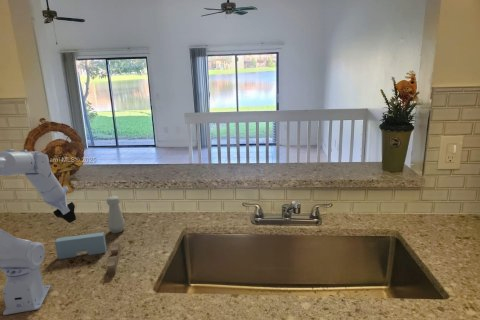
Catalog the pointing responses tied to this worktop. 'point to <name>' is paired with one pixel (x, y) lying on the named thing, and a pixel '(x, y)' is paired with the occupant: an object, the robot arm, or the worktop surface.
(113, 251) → the walnut slotted board
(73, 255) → the slate-blue slotted board
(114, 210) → the salt shaker
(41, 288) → the robot arm
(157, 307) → the worktop surface
